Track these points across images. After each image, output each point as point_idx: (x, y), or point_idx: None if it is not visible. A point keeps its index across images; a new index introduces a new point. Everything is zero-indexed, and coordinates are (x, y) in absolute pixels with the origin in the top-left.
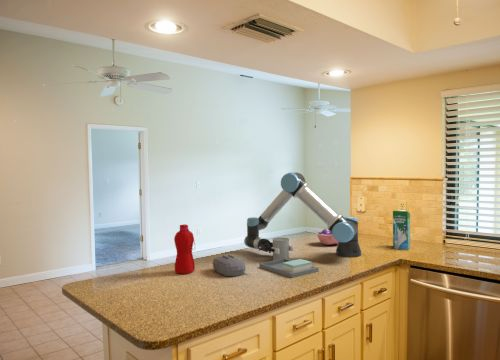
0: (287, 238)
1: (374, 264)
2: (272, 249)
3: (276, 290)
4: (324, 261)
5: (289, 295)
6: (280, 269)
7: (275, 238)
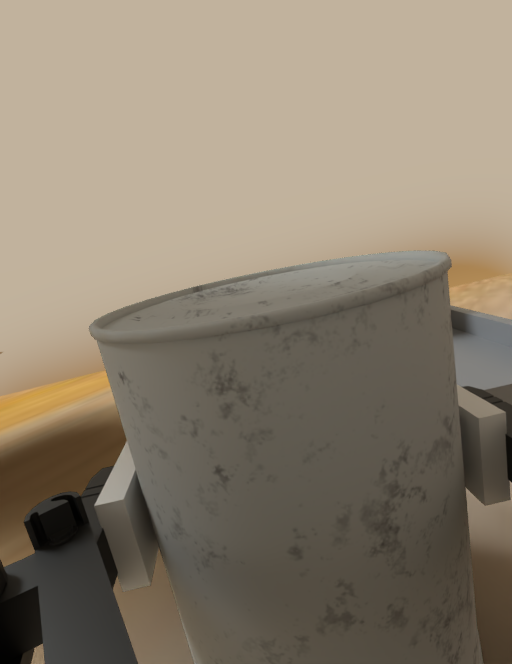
0: (116, 314)
1: (15, 397)
2: (484, 394)
3: (499, 290)
4: (67, 455)
5: (463, 285)
6: (461, 311)
7: (310, 313)
